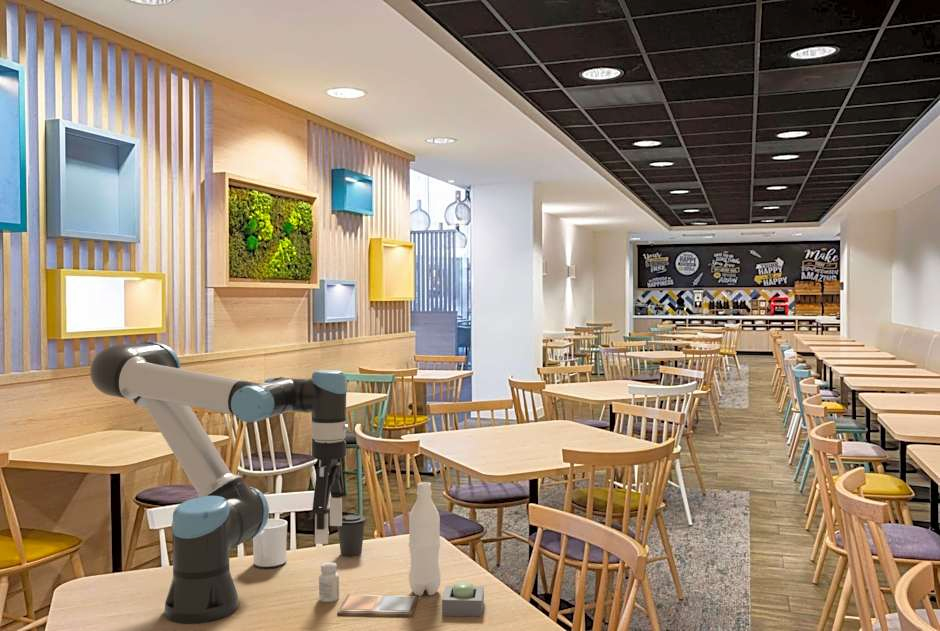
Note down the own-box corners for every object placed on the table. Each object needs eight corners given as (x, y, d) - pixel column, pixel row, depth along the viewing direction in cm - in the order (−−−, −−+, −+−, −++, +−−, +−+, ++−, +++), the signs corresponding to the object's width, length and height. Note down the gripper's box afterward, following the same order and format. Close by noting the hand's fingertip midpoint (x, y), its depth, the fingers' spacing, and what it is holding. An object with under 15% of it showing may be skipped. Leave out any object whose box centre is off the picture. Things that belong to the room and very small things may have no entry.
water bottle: (436, 598, 183) (435, 487, 183) (405, 596, 185) (404, 486, 184) (443, 587, 190) (443, 480, 190) (413, 585, 192) (413, 479, 191)
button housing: (442, 615, 174) (441, 599, 174) (446, 601, 182) (445, 585, 182) (481, 616, 173) (481, 600, 173) (483, 601, 181) (483, 586, 181)
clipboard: (337, 615, 174) (337, 611, 174) (347, 597, 185) (347, 593, 185) (411, 616, 173) (411, 612, 173) (418, 598, 183) (418, 594, 183)
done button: (452, 602, 175) (452, 589, 175) (454, 594, 180) (454, 582, 180) (472, 602, 175) (472, 589, 175) (474, 595, 180) (474, 582, 179)
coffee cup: (331, 558, 212) (330, 519, 212) (341, 548, 220) (341, 511, 220) (361, 559, 211) (361, 521, 211) (370, 549, 219) (370, 512, 219)
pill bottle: (331, 593, 187) (331, 560, 187) (343, 598, 184) (342, 564, 184) (315, 599, 184) (315, 564, 184) (326, 604, 181) (326, 569, 180)
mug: (260, 557, 213) (259, 518, 213) (292, 558, 212) (292, 519, 212) (242, 571, 202) (242, 530, 202) (277, 573, 201) (276, 531, 201)
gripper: (332, 450, 170) (332, 552, 171) (356, 430, 195) (356, 519, 196) (297, 450, 171) (297, 551, 171) (325, 430, 196) (325, 518, 196)
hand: (328, 534), depth 184 cm, fingers open, 13 cm apart
